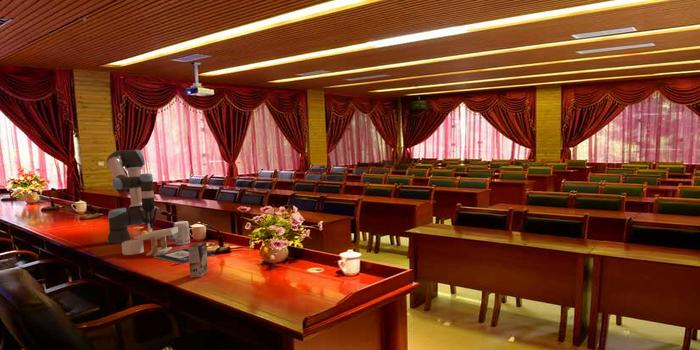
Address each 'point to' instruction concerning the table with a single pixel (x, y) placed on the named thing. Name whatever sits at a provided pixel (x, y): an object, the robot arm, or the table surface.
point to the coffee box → (198, 259)
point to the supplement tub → (182, 233)
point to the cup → (132, 247)
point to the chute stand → (160, 249)
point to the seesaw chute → (160, 234)
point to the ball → (144, 232)
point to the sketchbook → (177, 256)
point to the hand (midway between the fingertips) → (150, 233)
